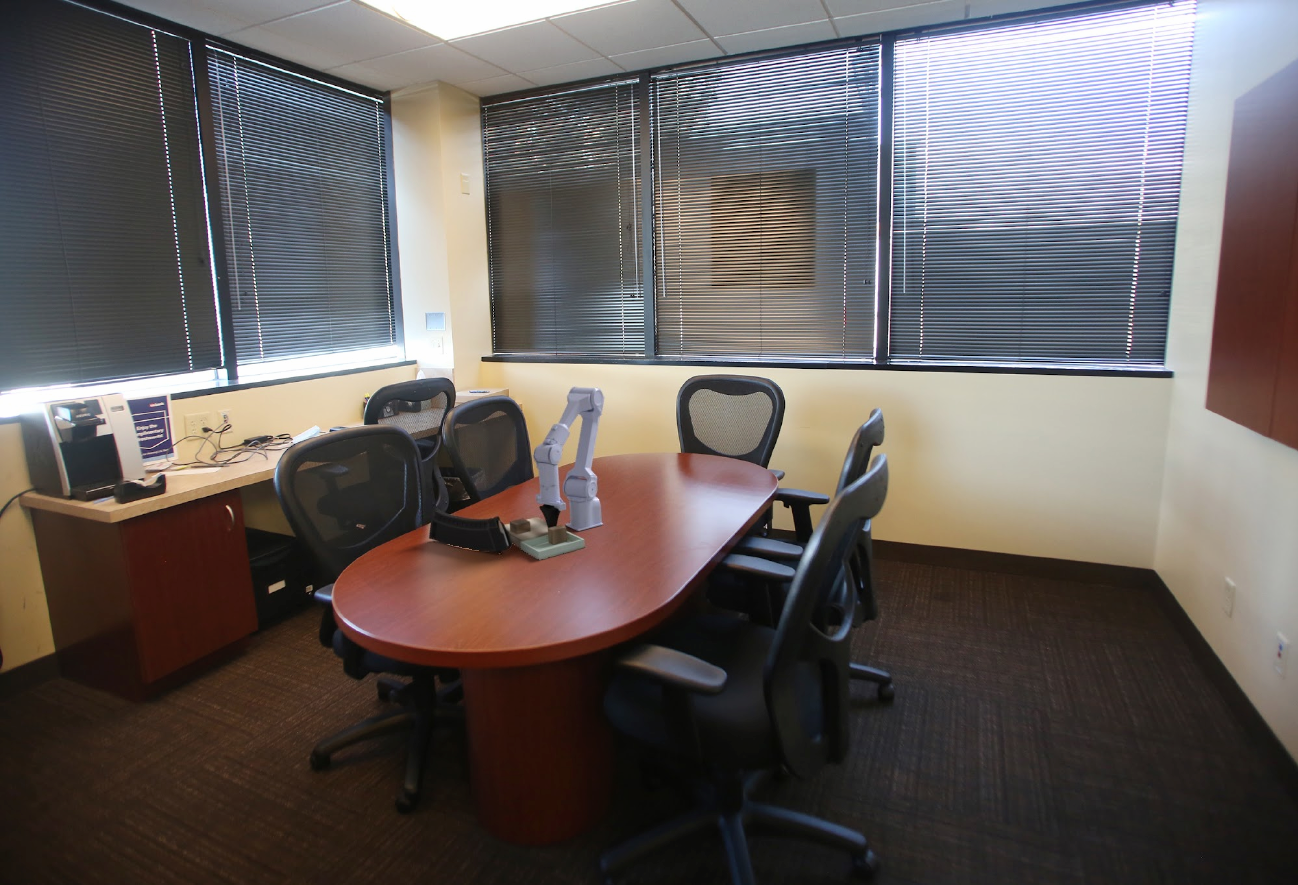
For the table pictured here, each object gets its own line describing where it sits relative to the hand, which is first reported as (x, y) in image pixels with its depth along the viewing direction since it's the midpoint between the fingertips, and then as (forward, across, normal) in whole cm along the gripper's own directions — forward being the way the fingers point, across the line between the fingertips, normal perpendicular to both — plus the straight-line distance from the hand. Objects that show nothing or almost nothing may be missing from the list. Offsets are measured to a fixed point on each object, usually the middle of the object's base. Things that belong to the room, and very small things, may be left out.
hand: (552, 528), depth 212 cm
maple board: (+4, -8, -4) cm, 10 cm away
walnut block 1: (+1, -7, -7) cm, 10 cm away
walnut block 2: (+1, +2, 0) cm, 2 cm away
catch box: (+4, +6, -4) cm, 8 cm away
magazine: (+4, -12, -21) cm, 25 cm away
